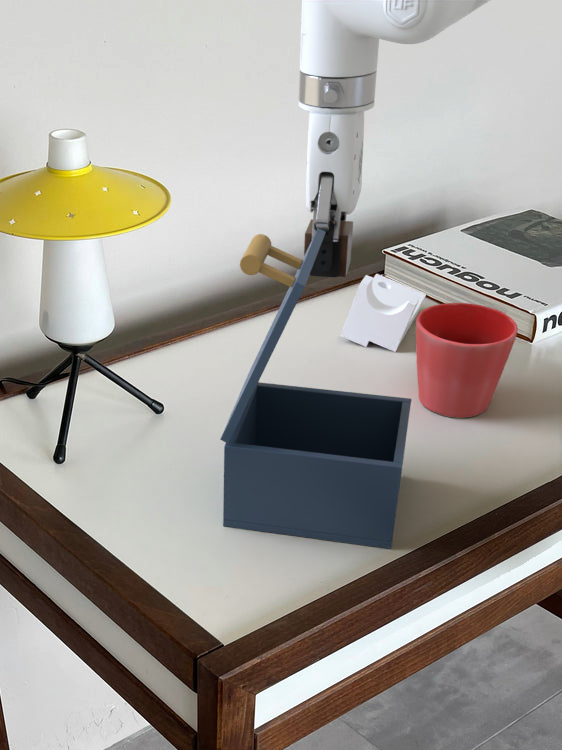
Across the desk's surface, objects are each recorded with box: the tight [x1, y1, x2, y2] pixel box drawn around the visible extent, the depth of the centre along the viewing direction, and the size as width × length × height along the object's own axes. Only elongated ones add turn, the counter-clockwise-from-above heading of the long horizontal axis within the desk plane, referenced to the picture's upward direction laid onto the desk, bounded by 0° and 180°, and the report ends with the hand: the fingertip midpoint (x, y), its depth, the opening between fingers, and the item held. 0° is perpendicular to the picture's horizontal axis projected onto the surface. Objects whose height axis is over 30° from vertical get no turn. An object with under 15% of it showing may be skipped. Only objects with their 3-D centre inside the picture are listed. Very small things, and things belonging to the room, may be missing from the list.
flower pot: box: [415, 302, 519, 419], centre depth 111 cm, size 11×11×10 cm
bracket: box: [340, 273, 427, 353], centre depth 128 cm, size 13×7×8 cm, turn 157°
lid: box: [220, 228, 326, 444], centre depth 90 cm, size 16×13×6 cm
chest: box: [222, 381, 412, 550], centre depth 96 cm, size 16×13×9 cm
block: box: [303, 218, 354, 278], centre depth 109 cm, size 5×5×5 cm
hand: (327, 264), depth 111 cm, fingers closed on block, 4 cm apart
